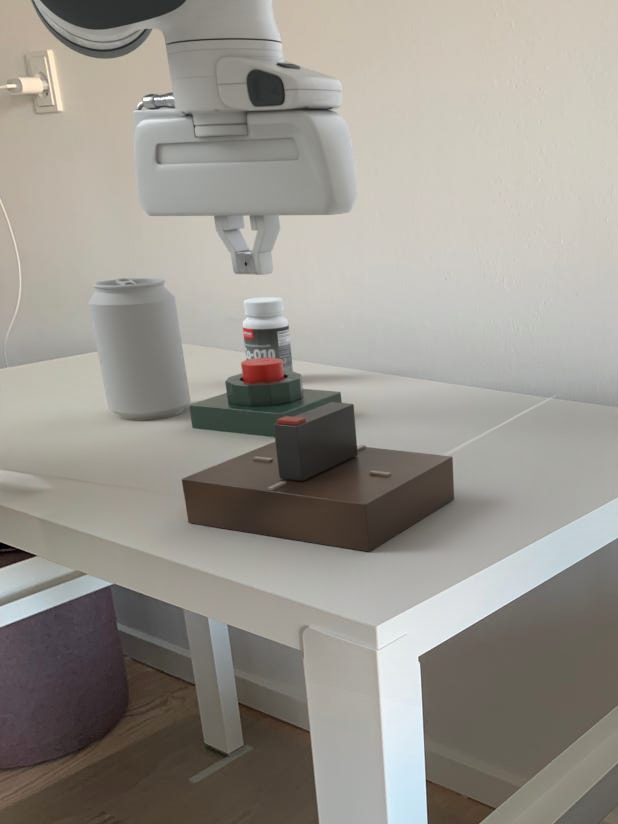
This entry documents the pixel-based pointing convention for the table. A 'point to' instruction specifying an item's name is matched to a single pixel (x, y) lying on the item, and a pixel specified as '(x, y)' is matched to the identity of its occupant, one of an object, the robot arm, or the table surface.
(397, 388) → the table surface
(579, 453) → the table surface
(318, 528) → the brown wooden base
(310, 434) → the dark grey rectangular block
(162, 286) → the can
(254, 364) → the button
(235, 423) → the button box
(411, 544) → the table surface
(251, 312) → the pill bottle
